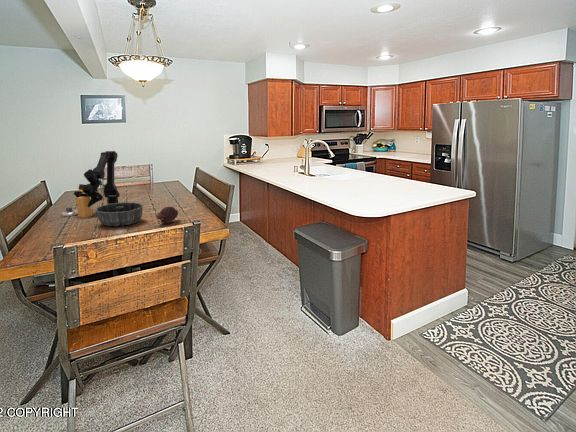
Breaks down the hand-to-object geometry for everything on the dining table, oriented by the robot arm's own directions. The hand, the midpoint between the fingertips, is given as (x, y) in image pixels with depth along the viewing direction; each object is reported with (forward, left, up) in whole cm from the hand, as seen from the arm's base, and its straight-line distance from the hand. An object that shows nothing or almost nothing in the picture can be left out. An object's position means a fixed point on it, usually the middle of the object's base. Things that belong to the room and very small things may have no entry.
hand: (82, 206), depth 241 cm
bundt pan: (-9, +33, -7) cm, 35 cm away
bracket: (-18, -43, -7) cm, 47 cm away
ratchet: (-2, -15, -7) cm, 17 cm away
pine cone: (-28, +55, -7) cm, 63 cm away
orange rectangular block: (-1, -1, -7) cm, 7 cm away
